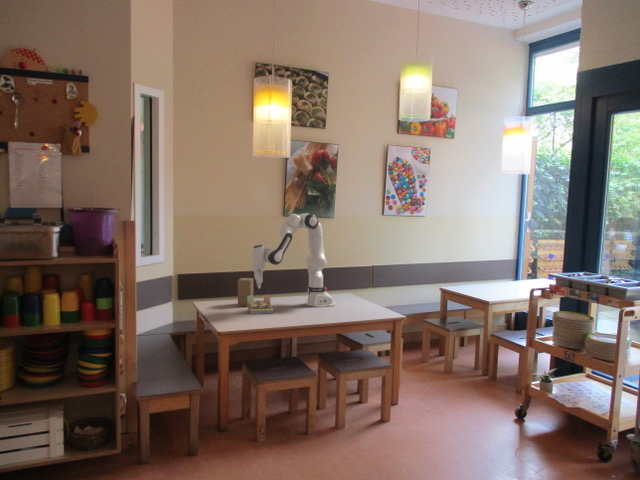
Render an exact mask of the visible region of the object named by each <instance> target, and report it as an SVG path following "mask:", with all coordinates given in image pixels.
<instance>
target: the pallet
mask: <svg viewBox="0 0 640 480" xmlns="http://www.w3.org/2000/svg"><path fill="white" fill-rule="evenodd" d="M247 304H248V306H247V309H248V311H249V310H251V309H252V306H257V309H261V306H263V305H266V309H270V305H271V304H272V303H271V301H270V302H265V301H264V300H253V302H247Z"/></svg>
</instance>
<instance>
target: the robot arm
mask: <svg viewBox="0 0 640 480" xmlns="http://www.w3.org/2000/svg"><path fill="white" fill-rule="evenodd" d="M298 228H302V229H307V232H308V234H307V235H308V248H309V254H308V255H307V256H306V259H305V261H306V262H305V263H306V266H307V272H308V286H307V300H306V304H305V305H307V306H310V307H315V308H323V307H335V306H336V302H335V301H334V300H333V297H332V296H331V295H330V294H329V293H328V292H327V290H328V288H327V287H325V286H324V274H323V270H324V269H325V268H326V267H327V266H328V261H327V259H326V253H325V249H324V235H323V234H324V233H323V232H324V231H323V227H322V224H321V222H320V221H319V219H318V216H316V215H315V214H313V213H308V212H306V213H299V214H296V213H291V214H290V215H289V216H288V217H286V219H285V220H284V221H283V223H282V224H281V225H280V228H279V230H278V231H279V235H280V237H281V241H280V242H279V244H278V245H277V247H276V249H271V248H269V247H266V246H264V245H263V244H257V245H254V246H253V247H252V252H251V253H252V254H251V258H252V262H251V268H252V269H251V270H252V271H253V275H254V280H255V283H256V286H257V289H262V287H261V286H262V283H263V281H264V279H263V273H264V272H265V271H266V263H268V264H272V265H275V266H277V265H279V264H281V263H282V262H283V259H284V255H285V253H286V251H287V249H288V248H289V246H290V244H291V242H292V240H293V236H294V235H295V233H296V231H297V230H298Z"/></svg>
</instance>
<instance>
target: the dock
mask: <svg viewBox="0 0 640 480" xmlns="http://www.w3.org/2000/svg"><path fill="white" fill-rule="evenodd" d="M248 311H249V314H250V315H258V314H259V315H260V314H261V315H263V314H265V315H266V314H274V309H273V307H272V305H271V304H270V309H266V305H261V309H257V305H252V309H251V310H248Z"/></svg>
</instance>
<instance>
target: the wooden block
mask: <svg viewBox="0 0 640 480" xmlns="http://www.w3.org/2000/svg"><path fill="white" fill-rule="evenodd" d="M247 296H253V297H254V278H252V277H241V278H239V279H238V280H237V306H238V307H248V304H247Z"/></svg>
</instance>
